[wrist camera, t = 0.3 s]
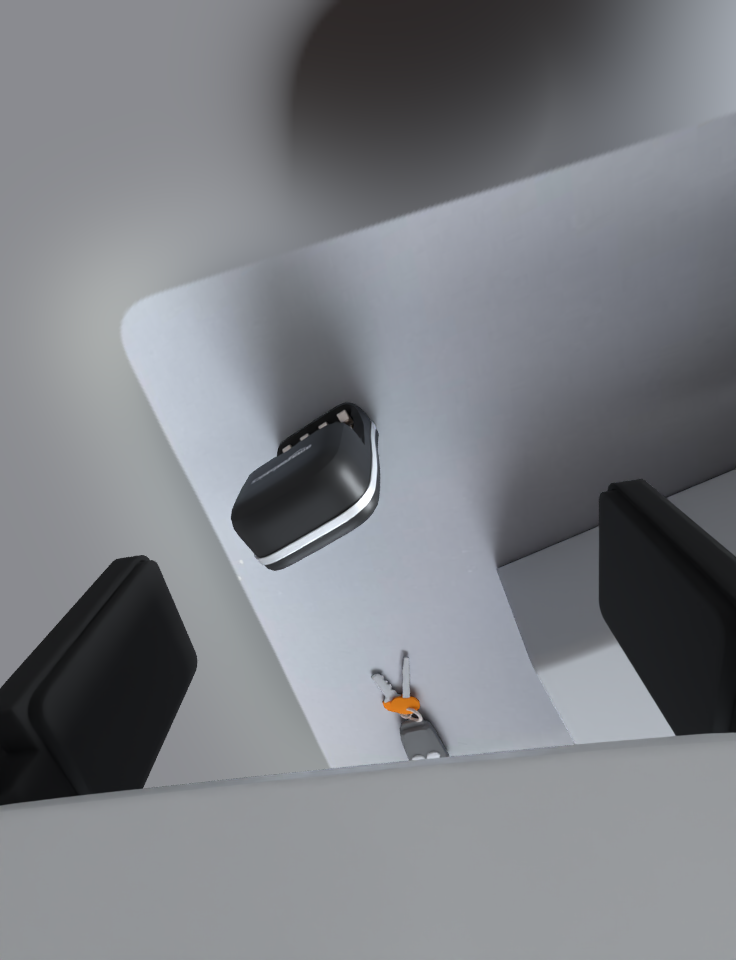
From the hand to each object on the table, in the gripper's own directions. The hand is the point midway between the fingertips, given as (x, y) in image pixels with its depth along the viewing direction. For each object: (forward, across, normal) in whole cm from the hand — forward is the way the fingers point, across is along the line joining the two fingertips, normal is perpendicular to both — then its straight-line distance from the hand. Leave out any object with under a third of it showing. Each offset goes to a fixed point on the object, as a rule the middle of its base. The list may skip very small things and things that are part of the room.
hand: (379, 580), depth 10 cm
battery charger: (+22, +4, +4) cm, 23 cm away
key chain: (+22, +2, +30) cm, 37 cm away
